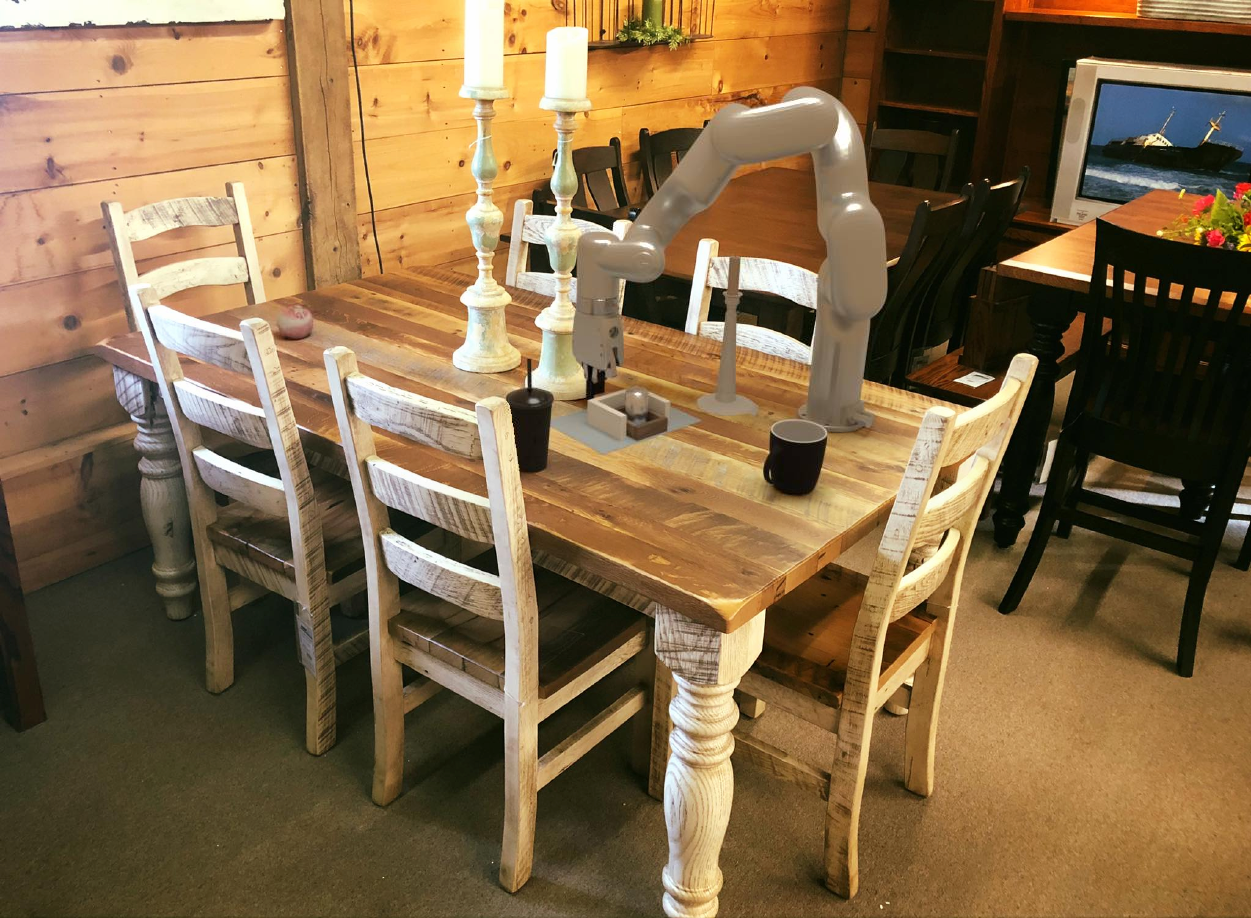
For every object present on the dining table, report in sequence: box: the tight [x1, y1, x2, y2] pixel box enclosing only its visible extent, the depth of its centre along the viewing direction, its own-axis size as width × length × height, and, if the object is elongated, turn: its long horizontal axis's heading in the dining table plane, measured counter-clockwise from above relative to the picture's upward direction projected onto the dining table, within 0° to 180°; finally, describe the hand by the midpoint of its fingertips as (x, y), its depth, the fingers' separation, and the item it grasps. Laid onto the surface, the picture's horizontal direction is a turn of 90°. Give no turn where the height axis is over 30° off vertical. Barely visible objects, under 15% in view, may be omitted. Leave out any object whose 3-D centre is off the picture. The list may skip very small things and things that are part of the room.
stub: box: [625, 386, 650, 425], centre depth 186 cm, size 4×4×7 cm
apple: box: [276, 304, 314, 341], centre depth 229 cm, size 8×8×7 cm
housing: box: [587, 385, 671, 441], centre depth 188 cm, size 12×11×4 cm
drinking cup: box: [505, 358, 555, 474], centre depth 169 cm, size 8×8×20 cm
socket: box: [614, 405, 668, 441], centre depth 187 cm, size 9×7×2 cm
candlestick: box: [696, 253, 760, 418], centre depth 192 cm, size 13×13×30 cm
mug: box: [762, 418, 828, 497], centre depth 168 cm, size 12×9×10 cm
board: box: [550, 405, 702, 455], centre depth 190 cm, size 17×23×2 cm
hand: (595, 399), depth 194 cm, fingers closed
